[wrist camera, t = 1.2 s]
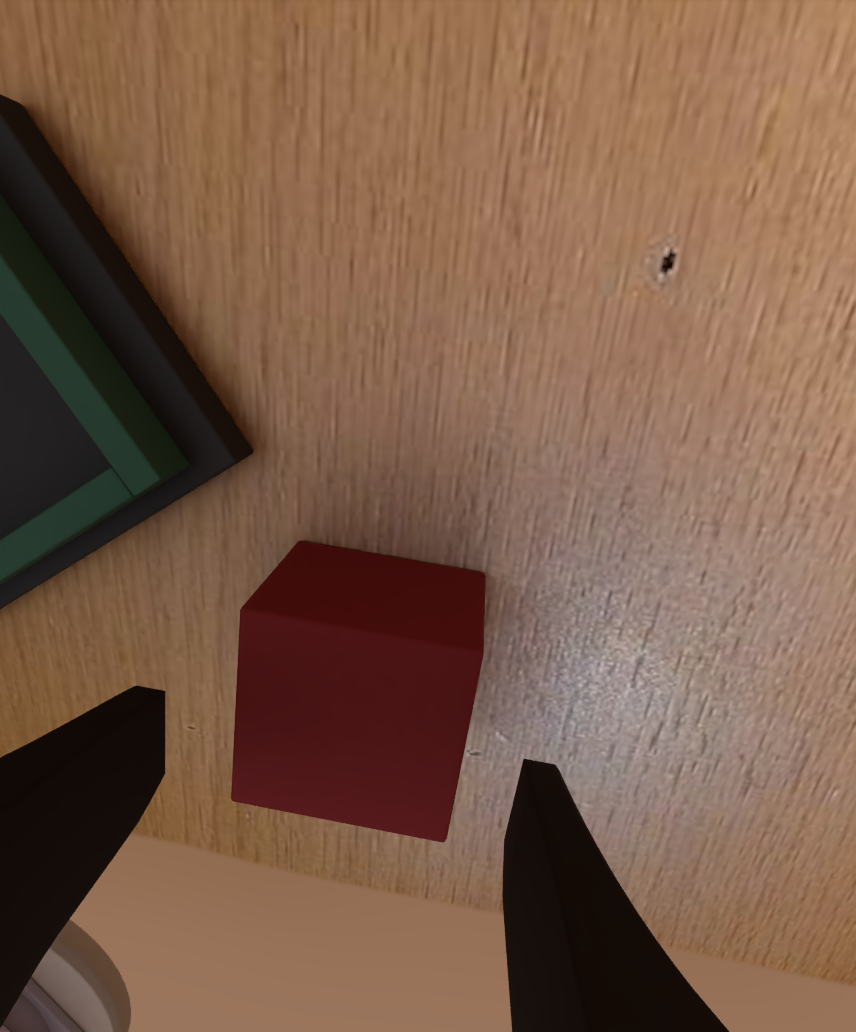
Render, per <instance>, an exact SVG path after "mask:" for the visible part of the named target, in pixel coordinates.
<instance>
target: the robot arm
mask: <svg viewBox="0 0 856 1032" xmlns="http://www.w3.org/2000/svg"><path fill="white" fill-rule="evenodd" d="M164 774H165V691H162V690H157V689H151V688H146V687H141V686H134V687H132V688H130V689H128V690H126V691H124V692H122V693H121V694H119V695H117V696H115V697H113V698H111V699H109V700H108V701H106V702H104V703H102V704H100V705H99V706H97V707H95V708H93V709H91V710H90V711H88V712H86V713H84V714H82V715H81V716H79V717H77V718H75V719H73V720H71V721H70V722H68V723H66V724H64V725H62V726H60V727H59V728H57V729H55V730H53V731H51V732H49V733H47V734H46V735H44V736H42V737H40V738H38V739H36V740H34V741H33V742H31V743H29V744H27V745H25V746H23V747H21V748H19V749H17V750H15V751H13V752H11V753H9V754H7V755H5V756H3V757H1V758H0V1032H84V1031H83V1030H82V1029H81V1028H80V1027H79V1026H78V1025H77V1024H76V1023H75V1022H74V1021H73V1020H72V1019H71V1018H70V1017H69V1016H68V1015H67V1014H66V1013H65V1012H64V1011H63V1010H62V1008H61V1007H60V1006H59V1005H58V1004H57V1003H56V1002H55V1001H54V1000H53V999H52V998H51V997H50V996H49V995H48V994H47V993H46V992H45V991H44V990H43V989H42V988H41V987H40V986H39V985H38V984H37V983H36V982H35V981H34V980H33V979H32V978H31V976H32V974H33V973H34V971H35V969H36V968H37V966H38V964H39V963H40V961H41V960H42V958H43V957H44V955H45V954H46V952H47V951H48V949H49V948H50V946H51V945H52V943H53V942H54V940H55V939H56V937H57V936H58V934H59V933H60V931H61V930H62V929H63V927H64V926H65V924H66V923H67V922H68V920H69V919H70V917H71V916H72V914H73V913H74V912H75V910H76V909H77V908H78V906H79V905H80V903H81V902H82V901H83V899H84V898H85V896H86V895H87V894H88V892H89V891H90V890H91V888H92V887H93V885H94V884H95V882H96V881H97V880H98V878H99V877H100V876H101V874H102V873H103V871H104V870H105V869H106V867H107V866H108V864H109V863H110V862H111V860H112V859H113V858H114V856H115V855H116V853H117V852H118V850H119V849H120V848H121V846H122V845H123V843H124V842H125V841H126V839H127V838H128V836H129V835H130V833H131V832H132V831H133V829H134V828H135V826H136V825H137V823H138V822H139V820H140V818H141V817H142V815H143V813H144V811H145V810H146V808H147V806H148V804H149V802H150V801H151V799H152V797H153V795H154V793H155V791H156V789H157V788H158V786H159V784H160V782H161V780H162V778H163V776H164ZM503 911H504V924H505V939H506V953H507V966H508V978H509V979H508V980H509V992H510V1007H511V1020H512V1032H729V1031H728V1030H727V1028H726V1027H725V1026H724V1025H723V1024H722V1023H721V1022H720V1020H719V1019H718V1018H717V1017H716V1015H715V1014H714V1013H713V1012H712V1011H711V1009H710V1008H709V1007H708V1006H707V1005H706V1004H705V1002H704V1001H703V1000H702V999H701V998H700V996H699V995H698V994H697V993H696V992H695V991H694V989H693V988H692V987H691V986H690V984H689V983H688V982H687V981H686V979H685V978H684V977H683V975H682V974H681V973H680V971H679V970H678V969H677V967H676V966H675V965H674V964H673V962H672V961H671V959H670V958H669V957H668V955H667V954H666V953H665V951H664V950H663V948H662V947H661V946H660V944H659V943H658V942H657V940H656V939H655V937H654V936H653V934H652V933H651V932H650V930H649V929H648V927H647V926H646V924H645V923H644V921H643V920H642V918H641V917H640V915H639V914H638V912H637V911H636V909H635V908H634V906H633V905H632V903H631V901H630V900H629V898H628V897H627V895H626V894H625V892H624V890H623V889H622V887H621V886H620V884H619V882H618V881H617V879H616V877H615V876H614V874H613V872H612V871H611V869H610V867H609V866H608V864H607V862H606V860H605V858H604V857H603V855H602V853H601V851H600V850H599V848H598V846H597V844H596V843H595V841H594V839H593V837H592V835H591V834H590V832H589V830H588V828H587V826H586V824H585V822H584V820H583V818H582V816H581V814H580V813H579V811H578V809H577V807H576V805H575V803H574V801H573V799H572V797H571V794H570V792H569V790H568V788H567V786H566V784H565V782H564V780H563V777H562V775H561V773H560V771H559V769H558V768H557V767H556V765H554V764H549V763H544V762H538V761H533V760H528V759H524V760H523V764H522V768H521V772H520V776H519V781H518V785H517V789H516V793H515V797H514V801H513V806H512V810H511V814H510V818H509V822H508V826H507V831H506V835H505V839H504V861H503Z"/></svg>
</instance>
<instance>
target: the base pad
mask: <svg viewBox="0 0 856 1032" xmlns="http://www.w3.org/2000/svg"><path fill="white" fill-rule="evenodd" d="M252 453H253V450H252V448H251V447H250V445H249V444H248V442H247V441H246V439H245V438H244V436H243V435H242V433H241V432H240V430H239V429H238V427H237V426H236V424H235V423H234V421H233V420H232V418H231V417H230V415H229V414H228V412H227V411H226V409H225V408H224V406H223V405H222V403H221V402H220V400H219V399H218V397H217V396H216V394H215V393H214V391H213V390H212V388H211V387H210V385H209V384H208V382H207V381H206V379H205V378H204V376H203V375H202V373H201V372H200V370H199V369H198V367H197V366H196V364H195V363H194V361H193V360H192V358H191V357H190V355H189V354H188V352H187V351H186V349H185V348H184V346H183V345H182V343H181V342H180V340H179V339H178V337H177V336H176V334H175V333H174V331H173V330H172V328H171V327H170V325H169V324H168V322H167V321H166V319H165V318H164V316H163V315H162V313H161V312H160V310H159V309H158V307H157V306H156V304H155V303H154V301H153V300H152V298H151V297H150V295H149V294H148V293H147V291H146V290H145V288H144V287H143V285H142V284H141V282H140V281H139V279H138V278H137V276H136V275H135V273H134V272H133V270H132V269H131V267H130V266H129V264H128V263H127V261H126V260H125V258H124V257H123V255H122V254H121V252H120V251H119V249H118V248H117V246H116V245H115V243H114V242H113V240H112V239H111V237H110V236H109V234H108V233H107V231H106V230H105V228H104V227H103V225H102V224H101V222H100V221H99V219H98V218H97V216H96V215H95V213H94V212H93V210H92V209H91V207H90V206H89V204H88V203H87V201H86V200H85V198H84V197H83V195H82V194H81V192H80V191H79V189H78V188H77V186H76V185H75V183H74V182H73V180H72V179H71V177H70V176H69V174H68V173H67V171H66V170H65V168H64V167H63V165H62V164H61V162H60V161H59V159H58V158H57V156H56V155H55V153H54V152H53V150H52V149H51V147H50V146H49V144H48V143H47V141H46V140H45V138H44V137H43V135H42V134H41V132H40V131H39V129H38V128H37V126H36V125H35V124H34V122H33V121H32V119H31V118H30V116H29V115H28V113H27V112H26V110H25V109H24V107H23V106H22V105H21V104H20V103H18V102H16V101H14V100H11V99H9V98H7V97H5V96H2V95H0V609H1V608H3V607H4V606H6V605H7V604H9V603H11V602H12V601H14V600H16V599H17V598H19V597H20V596H22V595H24V594H25V593H27V592H29V591H30V590H32V589H33V588H35V587H37V586H38V585H40V584H42V583H43V582H45V581H46V580H48V579H50V578H51V577H53V576H55V575H56V574H58V573H59V572H61V571H63V570H64V569H66V568H68V567H69V566H71V565H72V564H74V563H76V562H77V561H79V560H81V559H82V558H84V557H85V556H87V555H89V554H90V553H92V552H94V551H95V550H97V549H98V548H100V547H102V546H103V545H105V544H107V543H108V542H110V541H111V540H113V539H115V538H116V537H118V536H120V535H121V534H123V533H124V532H126V531H128V530H129V529H131V528H133V527H134V526H136V525H137V524H139V523H141V522H142V521H144V520H145V519H147V518H149V517H150V516H152V515H154V514H155V513H157V512H158V511H160V510H162V509H163V508H165V507H167V506H168V505H170V504H171V503H173V502H175V501H176V500H178V499H180V498H181V497H183V496H184V495H186V494H188V493H189V492H191V491H193V490H194V489H196V488H197V487H199V486H201V485H202V484H204V483H206V482H207V481H209V480H210V479H212V478H214V477H215V476H217V475H219V474H220V473H222V472H223V471H225V470H227V469H228V468H230V467H232V466H233V465H235V464H236V463H238V462H240V461H241V460H243V459H245V458H246V457H248V456H249V455H251V454H252Z"/></svg>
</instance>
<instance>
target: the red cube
mask: <svg viewBox="0 0 856 1032" xmlns="http://www.w3.org/2000/svg"><path fill="white" fill-rule="evenodd" d="M484 615H485V574H484V573H482V572H477V571H471V570H465V569H459V568H454V567H448V566H442V565H436V564H431V563H425V562H419V561H413V560H408V559H402V558H396V557H390V556H384V555H379V554H373V553H367V552H361V551H356V550H350V549H344V548H338V547H332V546H327V545H321V544H315V543H309V542H304V541H299V542H297V544H296V545H295V546H294V547H293V548H292V549H291V551H290V552H289V553H288V554H287V555H286V556H285V558H284V559H283V560H282V561H281V562H280V563H279V565H278V566H277V567H276V568H275V569H274V570H273V572H272V573H271V574H270V575H269V576H268V577H267V579H266V580H265V581H264V582H263V583H262V584H261V586H260V587H259V588H258V589H257V590H256V591H255V593H254V594H253V595H252V596H251V597H250V598H249V600H248V601H247V602H246V603H245V604H244V605H243V607H242V608H241V610H240V628H239V648H238V669H237V690H236V710H235V731H234V751H233V772H232V792H231V799H232V801H234V802H239V803H244V804H249V805H254V806H259V807H265V808H270V809H275V810H280V811H285V812H290V813H295V814H300V815H305V816H311V817H316V818H321V819H326V820H331V821H336V822H341V823H346V824H351V825H357V826H362V827H367V828H372V829H377V830H382V831H387V832H392V833H397V834H403V835H408V836H413V837H418V838H423V839H428V840H433V841H438V842H445V840H446V839H447V834H448V829H449V824H450V819H451V814H452V809H453V804H454V799H455V794H456V789H457V784H458V779H459V774H460V769H461V764H462V759H463V754H464V749H465V744H466V739H467V734H468V729H469V724H470V719H471V714H472V709H473V704H474V699H475V694H476V689H477V684H478V679H479V674H480V669H481V664H482V659H483V653H484Z"/></svg>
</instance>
